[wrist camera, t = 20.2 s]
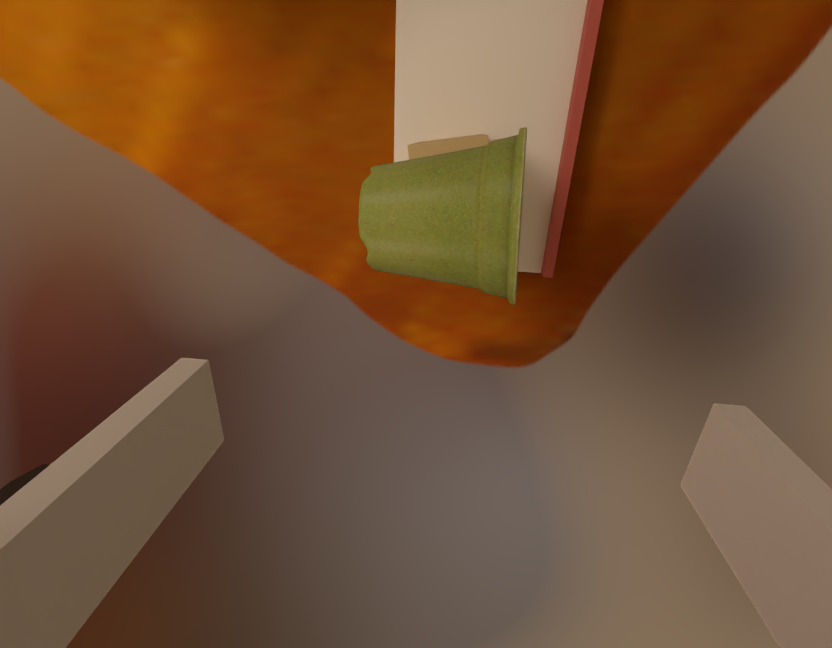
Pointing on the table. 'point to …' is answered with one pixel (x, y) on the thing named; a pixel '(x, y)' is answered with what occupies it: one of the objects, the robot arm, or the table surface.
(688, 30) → the table surface
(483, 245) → the plant pot
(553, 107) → the shelf board
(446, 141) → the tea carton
